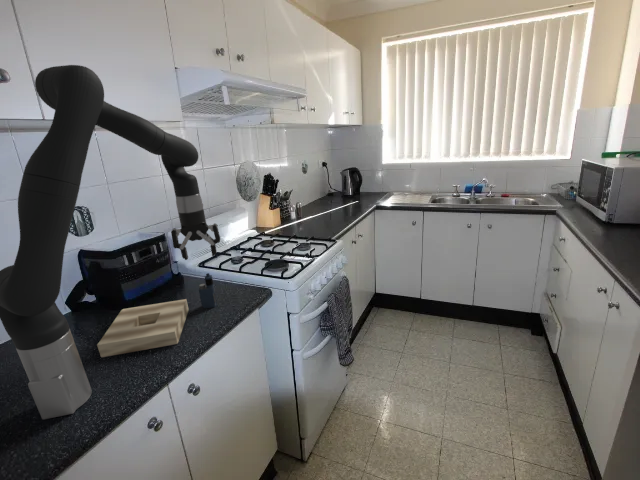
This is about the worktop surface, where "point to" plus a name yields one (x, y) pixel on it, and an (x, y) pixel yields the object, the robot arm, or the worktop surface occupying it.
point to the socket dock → (144, 328)
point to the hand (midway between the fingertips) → (200, 257)
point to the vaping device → (207, 293)
